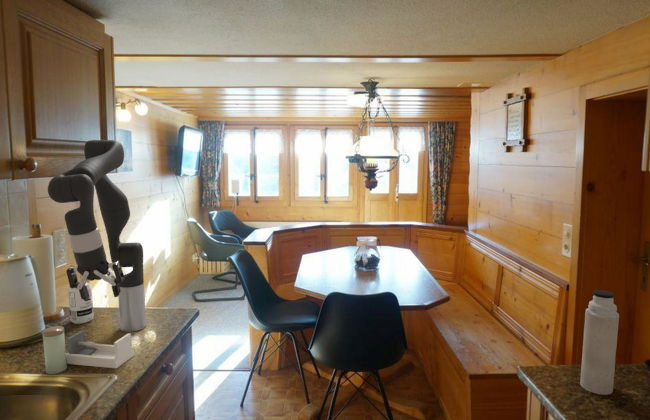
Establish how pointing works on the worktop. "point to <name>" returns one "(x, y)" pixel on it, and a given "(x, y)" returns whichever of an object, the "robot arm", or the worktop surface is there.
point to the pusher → (79, 344)
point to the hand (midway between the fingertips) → (101, 297)
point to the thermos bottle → (599, 344)
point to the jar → (54, 349)
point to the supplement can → (80, 306)
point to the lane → (105, 354)
